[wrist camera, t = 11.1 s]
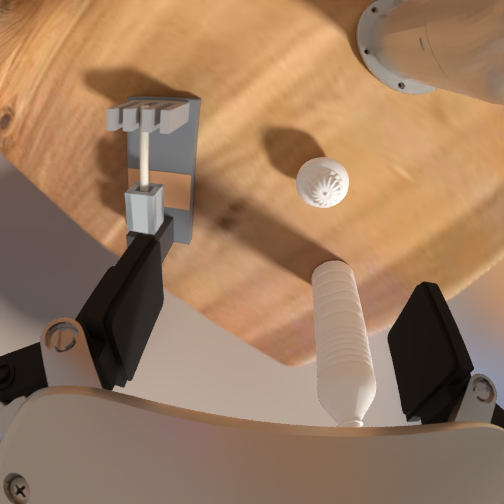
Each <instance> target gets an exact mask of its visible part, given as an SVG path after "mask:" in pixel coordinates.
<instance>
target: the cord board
mask: <svg viewBox="0 0 504 504" xmlns="http://www.w3.org/2000/svg"><path fill="white" fill-rule="evenodd" d="M200 103H201V99H199V98H184V97H165V96H131V97H128V102H126V103H123V104H120V105H117V106H114V107H111V108H108V109H107V131H116V130H118V129H120V128H122V127H123V131H127V167H128V189H129V188H130V187H131V186H132V185H133V184H134V183H136V182H137V181H139V182H140V192H148V193H149V183H156V184H164V221H163V223H162V224H161V226H160V227H159V229H158V230H157V232H156V233H155V235H153V234H147V233H141V232H135V231H130V232H129V233H128V234H127V235H126V239H127V248H128V247H129V246H130V244H131V243H132V241H133V240H134V239H135V237H136V236H137V235H138V234H139V233H141V234H146V235H152V236H155V238H156V240H157V241H160V247H161V264H162V263H163V261H164V259H165V257H166V255H167V253H168V251H169V250H170V248H171V246H172V244H173V242H178V243H184V244H190V242H191V240H192V222H193V199H194V180H195V164H196V150H197V137H198V125H199V113H200Z"/></svg>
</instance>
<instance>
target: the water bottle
mask: <svg viewBox="0 0 504 504" xmlns="http://www.w3.org/2000/svg"><path fill="white" fill-rule="evenodd" d="M311 280H312V290H313V306H314V318H315V321H314V322H315V340H316V355H317V378H318V381H317V392H318V398H319V401H320V403H321V405H322V407H323V408H324V409H325V410H326V411H327V412H328V413H329V414H330V416H331V417H332V418H333V419H334V420H335V421H336V422H337V423H338V425H337V427H362V425H363V422H361V420H362V418H363V416H364V415H365V413H366V411H367V409H368V408H369V406H370V404H371V403H372V401H373V399H374V396H375V393H376V380H375V376H374V371H373V365H372V359H371V354H370V349H369V343H368V338H367V332H366V327H365V323H364V317H363V313H362V308H361V304H360V299H359V295H358V292H357V286H356V283H355V278H354V274H353V271H352V269H351V267H350V266H349V265H347V264H346V263H344V262H342V261H338V260H336V261H333V260H331V261H327V262H324V263H323V264H320V265H319V266H318V267H317V268H316V269H315V270H314V272H313V274H312V279H311Z"/></svg>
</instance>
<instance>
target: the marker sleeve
mask: <svg viewBox="0 0 504 504" xmlns="http://www.w3.org/2000/svg"><path fill="white" fill-rule="evenodd" d="M125 206H126V218H127V229H128V230H129V231H135V232H141V233H147V234H153V235H155V233H156V232H157V230H158V229H159V227H160V226H161V224H162V223H163V221H164V184H156V183H149V193H148V192H140V182H139V181H137V182H136V183H134V184H133V185H132V186H131V187H130V188H129V189H128V190H127V191H126V192H125Z"/></svg>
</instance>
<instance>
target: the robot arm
mask: <svg viewBox="0 0 504 504" xmlns="http://www.w3.org/2000/svg"><path fill="white" fill-rule="evenodd" d="M371 9H373V10H374V11H375V13H373V12H372V11H371ZM356 42H357V46H358V51H359V53H360V56H361V58H362V60H363V62H364V63H365V65H366V67H367V68H368V70H369V71H370V72H371V73H372V74H373V75H374V76H375V77H376V78H377V79H378V80H379V81H381V82H382V83H383V84H385V85H386V86H388V87H390V88H392V89H394V90H397V91H399V92H403V93H406V94H414V95H417V94H426V93H429V92H432V91H434V90H436V89H438V88H440V89H444V90H448V91H451V92H455V93H458V94H462V95H465V96H469V97H472V98H475V99H478V100H482V101H485V102H489V103H493V104H501V105H504V0H376V1H374V2H373V3H371V4H370V5H369V6H368V7H367V8H366V9H365V10H364V11H363V13H362V14H361V16H360V18H359V20H358V23H357V29H356ZM364 50H367V51H368V53H367V54H366V53H364ZM399 83H400V84H401V86H400V87H398V84H399ZM163 300H164V295H163V282H162V266H161V247H160V241H157V240H156V238H155V236H152V235H146V234H141V233H139V234H138V235H137V236H136V237H135V239H134V240H133V241H132V243H131V244H130V246H129V247H128V248H127V250H126V251H125V253H124V254H123V255H122V257H121V258H120V260H119V261H118V263H117V264H116V266H112V267H110V268H109V269H108V270H107V272H106V273H105V275H104V276H103V278H102V279H101V281H100V282H99V284H98V285H97V287H96V288H95V290H94V291H93V293H92V294H91V296H90V297H89V299H88V300H87V302H86V303H85V305H84V306H83V308H82V310H81V311H80V313H79V314H78V316H77V318H76V319H75V320H73V319H70V318H61V319H57V320H54V321H52V322H51V323H49V324H48V325H47V326H46V327H45V328H44V330H43V331H42V334H41V337H40V342H38V343H35V344H33V345H30V346H27V347H25V348H22V349H19V350H17V351H14V352H11V353H8V354H6V355H3V356H0V504H504V410H503V409H502V408H501V407H500V406H499V405H497V404H496V399H497V392H496V389H495V386H494V384H493V382H492V381H491V380H490V379H489V378H488V377H486V376H485V375H483V374H475V375H473V376H472V377H471V374H470V372H472V371H473V370H474V367H473V364H472V362H471V359H470V356H469V354H468V351H467V349H466V346H465V344H464V341H463V339H462V336H461V334H460V332H459V330H458V327H457V325H456V323H455V320H454V318H453V316H452V314H451V311H450V310H449V307H448V305H447V303H446V301H445V299H444V297H443V295H442V293H441V291H440V289H439V287H438V285H437V284H435V283H430V282H422V283H421V284H420V285H417V286H416V288H415V290H414V291H413V293H412V295H411V297H410V298H409V300H408V302H407V304H406V305H405V307H404V309H403V310H402V312H401V314H400V315H399V317H398V319H397V320H396V322H395V323H394V325H393V327H392V328H391V330H390V332H389V334H388V344H389V348H390V353H391V356H392V361H393V365H394V370H395V375H396V380H397V385H398V390H399V394H400V400H401V406H402V411H403V413H404V414H405V415H406V418H407V422H413V421H419V420H420V419H421V423H422V424H421V425H412V426H395V427H320V426H303V425H290V424H280V423H270V422H261V421H253V420H246V419H239V418H232V417H226V416H220V415H215V414H209V413H204V412H199V411H194V410H189V409H184V408H180V407H175V406H171V405H166V404H162V403H157V402H153V401H150V400H146V399H142V398H138V397H134V396H130V395H126V394H122V393H118V392H114V391H111V390H113V388H114V385H117V386H120V387H125V384H126V382H127V380H128V381H131V380H132V379H133V376H134V374H135V371H136V369H137V366H138V364H139V361H140V358H141V356H142V353H143V351H144V349H145V346H146V344H147V341H148V339H149V337H150V334H151V332H152V329H153V327H154V324H155V322H156V320H157V318H158V315H159V313H160V311H161V308H162V306H163Z"/></svg>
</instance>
